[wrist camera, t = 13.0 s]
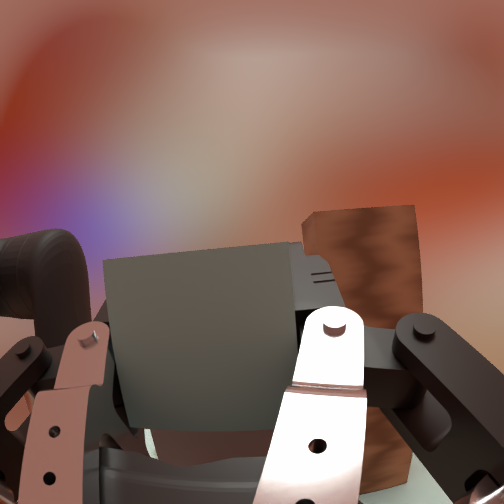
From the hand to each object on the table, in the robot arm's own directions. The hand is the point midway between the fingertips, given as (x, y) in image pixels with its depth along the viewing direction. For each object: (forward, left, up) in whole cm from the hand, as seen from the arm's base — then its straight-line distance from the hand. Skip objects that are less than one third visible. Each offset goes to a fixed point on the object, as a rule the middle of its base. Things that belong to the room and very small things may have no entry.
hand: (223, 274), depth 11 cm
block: (0, +8, -3) cm, 8 cm away
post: (+11, +22, -28) cm, 37 cm away
